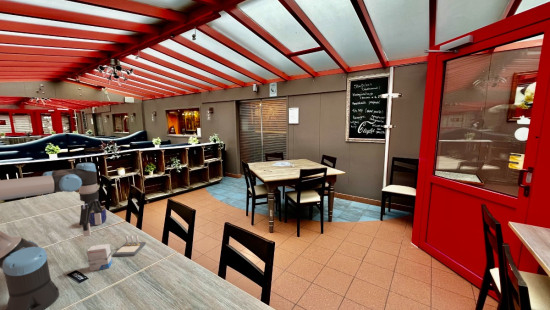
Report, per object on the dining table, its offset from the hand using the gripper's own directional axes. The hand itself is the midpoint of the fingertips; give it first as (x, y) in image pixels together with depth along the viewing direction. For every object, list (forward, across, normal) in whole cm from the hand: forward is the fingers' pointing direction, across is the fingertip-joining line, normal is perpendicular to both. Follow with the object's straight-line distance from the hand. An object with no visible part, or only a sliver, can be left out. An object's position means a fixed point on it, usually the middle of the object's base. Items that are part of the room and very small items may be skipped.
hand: (93, 229), depth 117 cm
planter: (+18, +54, +18) cm, 60 cm away
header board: (+18, +6, -14) cm, 24 cm away
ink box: (+19, -7, -4) cm, 20 cm away
